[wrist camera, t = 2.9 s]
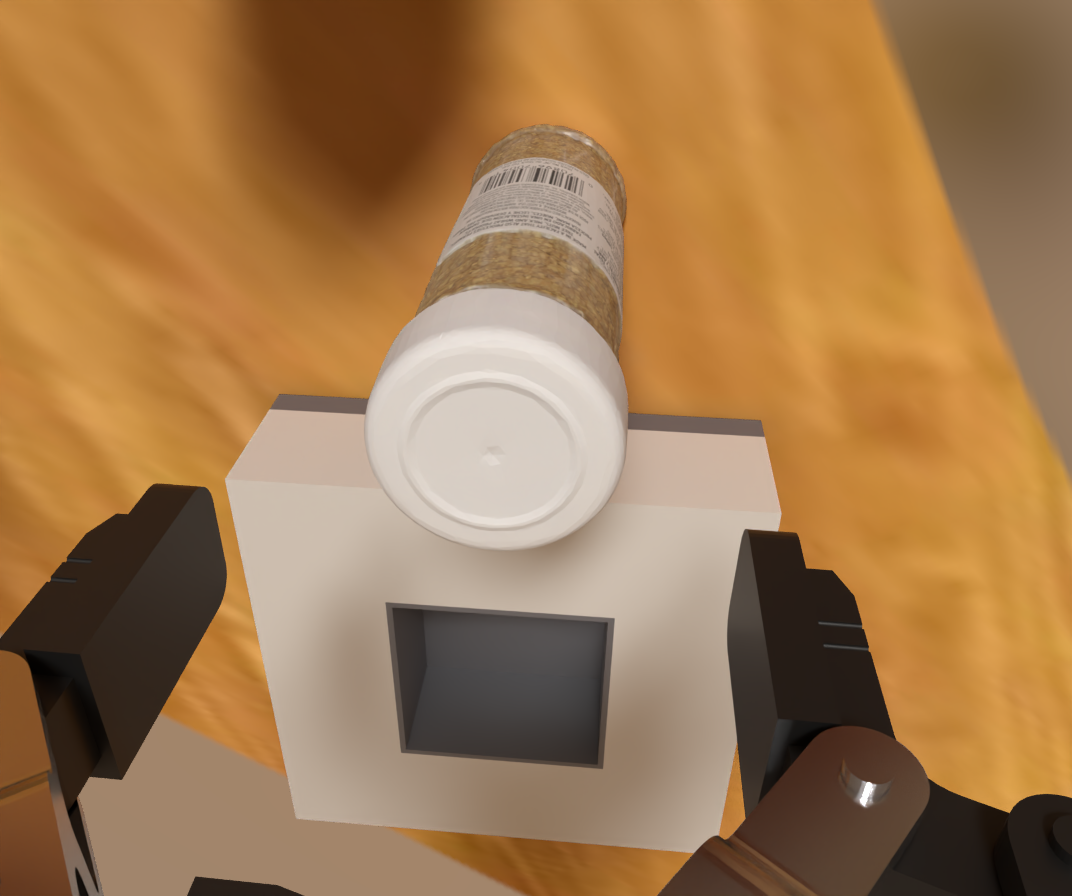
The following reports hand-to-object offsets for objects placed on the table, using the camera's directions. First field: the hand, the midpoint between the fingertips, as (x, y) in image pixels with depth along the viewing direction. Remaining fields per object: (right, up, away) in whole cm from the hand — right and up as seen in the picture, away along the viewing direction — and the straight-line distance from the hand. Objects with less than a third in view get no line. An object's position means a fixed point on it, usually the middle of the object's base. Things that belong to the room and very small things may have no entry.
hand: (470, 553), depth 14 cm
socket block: (0, -4, +21) cm, 21 cm away
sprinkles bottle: (+1, +9, +13) cm, 16 cm away
